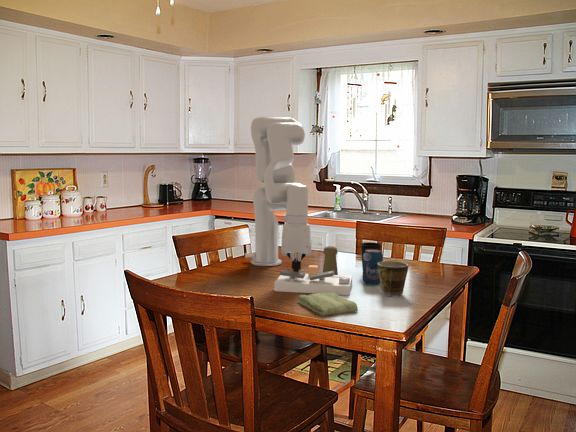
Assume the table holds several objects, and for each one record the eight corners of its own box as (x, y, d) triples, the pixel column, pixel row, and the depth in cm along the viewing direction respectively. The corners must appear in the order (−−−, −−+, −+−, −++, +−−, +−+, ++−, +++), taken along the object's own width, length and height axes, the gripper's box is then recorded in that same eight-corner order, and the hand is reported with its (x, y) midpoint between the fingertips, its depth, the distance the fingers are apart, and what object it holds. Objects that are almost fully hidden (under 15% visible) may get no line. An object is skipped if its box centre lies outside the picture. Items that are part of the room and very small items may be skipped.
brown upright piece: (337, 277, 204) (337, 248, 203) (321, 276, 206) (321, 247, 204) (338, 273, 210) (339, 245, 209) (323, 273, 211) (323, 244, 210)
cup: (357, 276, 207) (357, 244, 205) (364, 272, 213) (364, 241, 212) (376, 278, 203) (377, 246, 202) (383, 274, 210) (384, 243, 208)
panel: (274, 291, 184) (274, 277, 183) (282, 280, 198) (282, 268, 198) (349, 295, 179) (349, 281, 179) (352, 284, 194) (352, 271, 194)
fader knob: (308, 275, 192) (308, 266, 192) (309, 273, 195) (309, 265, 194) (316, 275, 191) (317, 267, 191) (317, 273, 194) (318, 265, 194)
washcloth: (332, 298, 177) (332, 288, 176) (360, 313, 161) (361, 302, 160) (295, 302, 172) (295, 292, 171) (320, 318, 156) (321, 307, 155)
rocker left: (279, 275, 185) (280, 271, 185) (282, 272, 189) (282, 269, 189) (303, 278, 184) (303, 275, 183) (304, 275, 187) (305, 272, 187)
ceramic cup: (386, 288, 189) (387, 259, 188) (412, 293, 183) (413, 263, 181) (366, 295, 179) (367, 265, 178) (393, 301, 173) (394, 270, 171)
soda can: (367, 286, 191) (368, 252, 190) (359, 281, 198) (360, 249, 196) (385, 285, 193) (386, 251, 192) (377, 280, 200) (378, 248, 198)
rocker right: (310, 280, 183) (309, 277, 183) (311, 277, 187) (310, 274, 187) (333, 275, 182) (332, 272, 182) (334, 273, 186) (333, 270, 186)
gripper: (273, 220, 189) (273, 272, 192) (316, 222, 187) (316, 275, 189) (277, 218, 197) (277, 268, 199) (319, 219, 194) (318, 270, 196)
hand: (296, 271), depth 194 cm, fingers closed
